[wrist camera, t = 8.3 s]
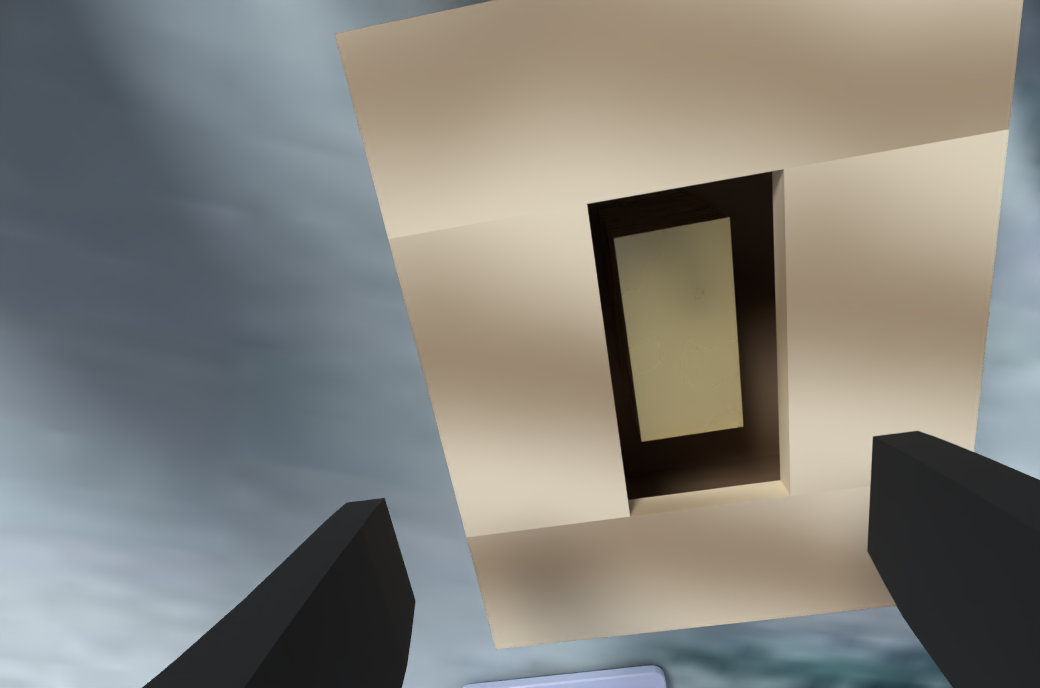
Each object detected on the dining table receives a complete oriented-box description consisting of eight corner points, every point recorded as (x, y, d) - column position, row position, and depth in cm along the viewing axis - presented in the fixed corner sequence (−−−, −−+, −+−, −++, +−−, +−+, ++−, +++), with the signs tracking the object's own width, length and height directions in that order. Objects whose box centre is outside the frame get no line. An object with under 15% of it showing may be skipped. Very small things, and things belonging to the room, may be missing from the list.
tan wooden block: (701, 359, 18) (743, 426, 14) (620, 372, 18) (641, 441, 15) (686, 190, 16) (729, 217, 13) (596, 207, 16) (613, 237, 13)
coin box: (839, 458, 20) (957, 598, 14) (507, 502, 21) (495, 649, 15) (847, -33, 15) (1035, -115, 9) (407, 57, 16) (334, 33, 10)
